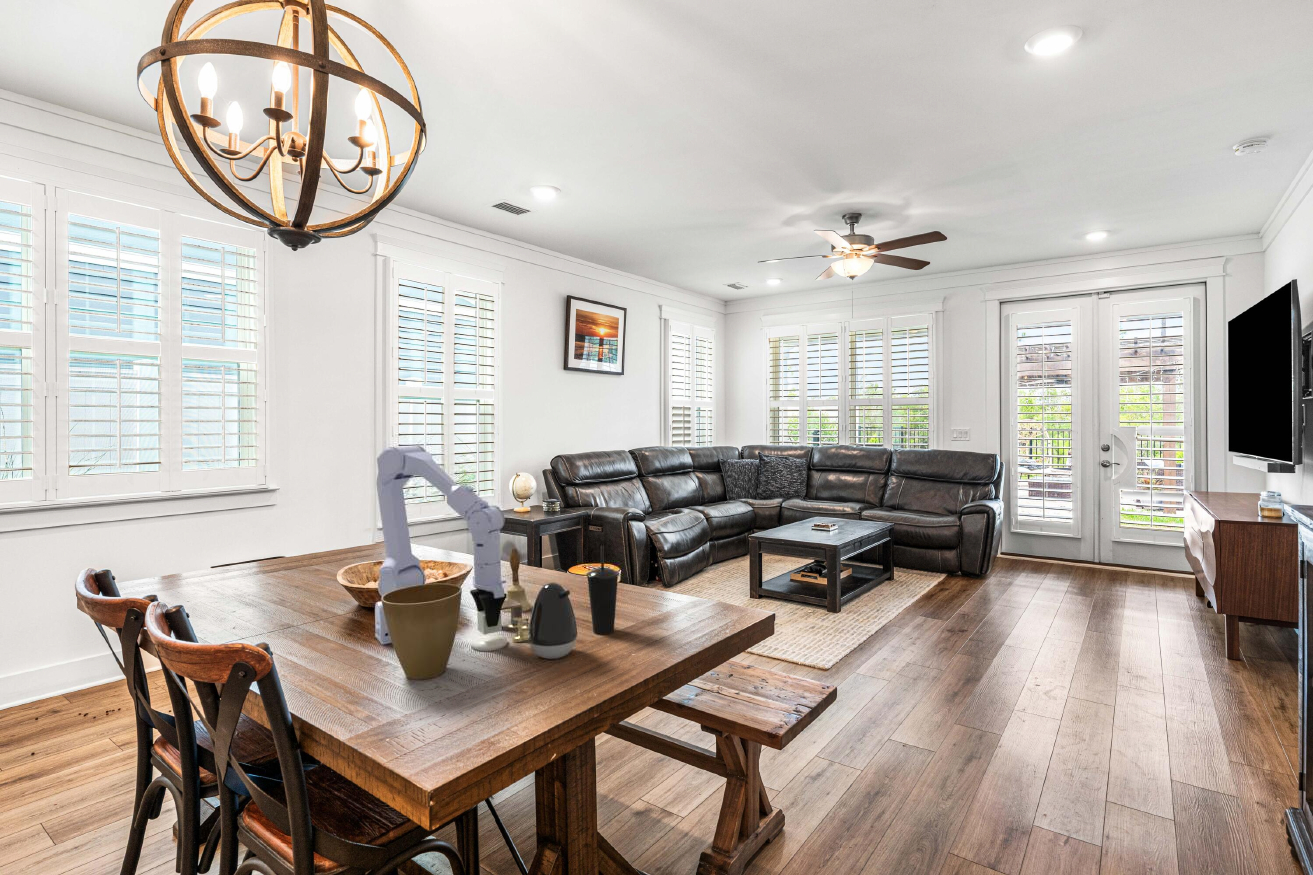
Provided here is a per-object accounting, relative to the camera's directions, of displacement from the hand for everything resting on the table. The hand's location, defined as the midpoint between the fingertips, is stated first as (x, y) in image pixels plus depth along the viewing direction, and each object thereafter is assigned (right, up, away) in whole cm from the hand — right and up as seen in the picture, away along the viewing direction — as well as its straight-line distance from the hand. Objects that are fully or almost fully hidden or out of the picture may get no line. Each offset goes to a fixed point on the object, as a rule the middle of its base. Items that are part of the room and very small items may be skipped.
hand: (488, 623), depth 144 cm
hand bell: (0, -4, +29) cm, 29 cm away
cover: (0, -5, +15) cm, 16 cm away
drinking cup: (+25, -4, +8) cm, 26 cm away
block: (0, -2, 0) cm, 2 cm away
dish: (0, -5, 0) cm, 5 cm away
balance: (+6, -5, +3) cm, 9 cm away
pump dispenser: (+15, -5, -6) cm, 17 cm away
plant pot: (-9, -6, -15) cm, 19 cm away
